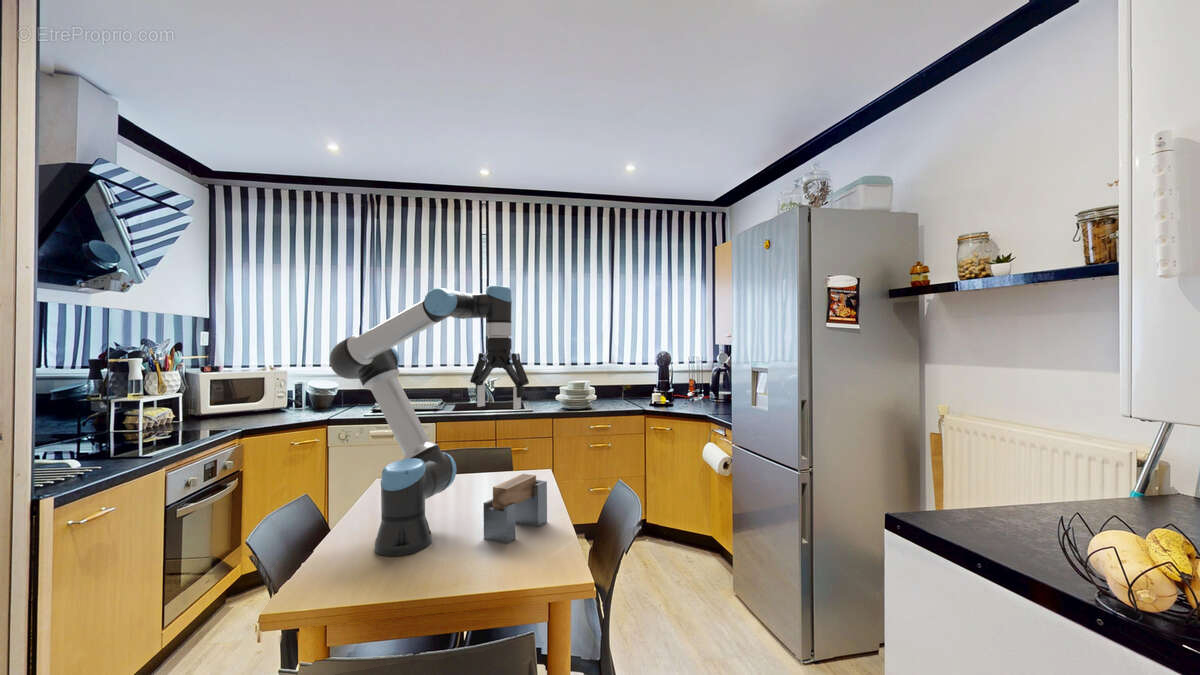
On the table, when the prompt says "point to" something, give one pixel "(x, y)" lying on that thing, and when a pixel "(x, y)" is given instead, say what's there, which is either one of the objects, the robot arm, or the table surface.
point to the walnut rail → (514, 490)
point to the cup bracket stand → (515, 515)
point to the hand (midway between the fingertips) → (498, 407)
